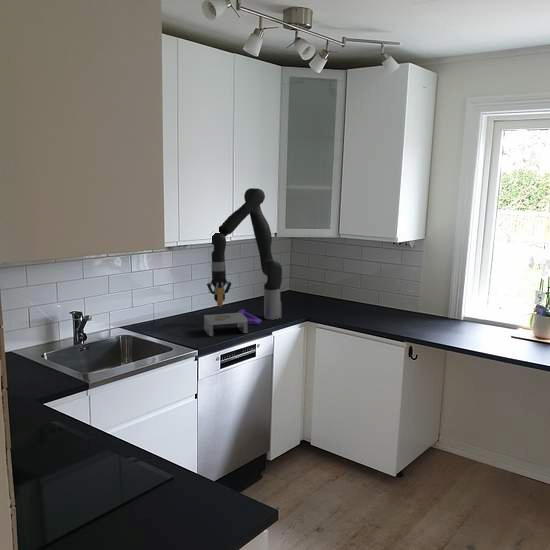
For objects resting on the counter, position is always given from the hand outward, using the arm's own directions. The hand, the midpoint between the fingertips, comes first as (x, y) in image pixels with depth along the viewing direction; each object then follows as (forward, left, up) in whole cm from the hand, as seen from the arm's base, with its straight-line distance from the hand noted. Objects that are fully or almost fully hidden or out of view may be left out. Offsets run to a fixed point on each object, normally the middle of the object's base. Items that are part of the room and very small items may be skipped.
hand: (219, 300), depth 302 cm
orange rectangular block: (0, 0, -3) cm, 3 cm away
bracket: (-17, 0, -14) cm, 22 cm away
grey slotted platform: (0, +15, -14) cm, 20 cm away
